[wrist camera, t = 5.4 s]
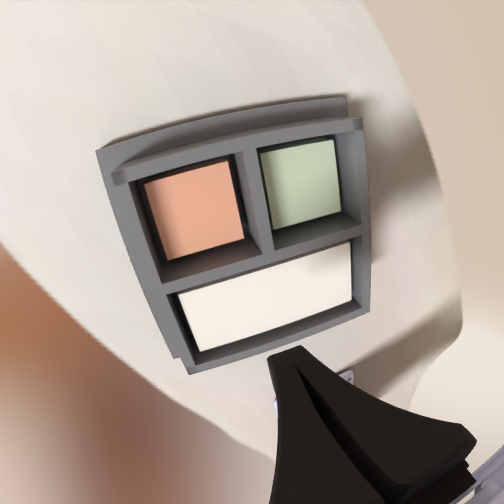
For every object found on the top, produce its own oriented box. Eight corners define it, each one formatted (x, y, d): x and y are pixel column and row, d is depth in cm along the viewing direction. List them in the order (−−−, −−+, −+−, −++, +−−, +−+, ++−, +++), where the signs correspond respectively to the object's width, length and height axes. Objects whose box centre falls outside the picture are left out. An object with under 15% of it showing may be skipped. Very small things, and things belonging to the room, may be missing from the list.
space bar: (339, 288, 20) (351, 300, 19) (196, 335, 18) (200, 351, 17) (336, 233, 18) (349, 242, 17) (176, 280, 17) (178, 295, 15)
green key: (328, 204, 18) (340, 211, 17) (265, 220, 17) (273, 229, 16) (319, 137, 16) (333, 139, 15) (251, 150, 16) (260, 153, 14)
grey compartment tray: (352, 290, 23) (382, 318, 19) (172, 349, 21) (177, 390, 17) (336, 97, 17) (376, 95, 13) (99, 149, 14) (80, 157, 11)
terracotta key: (237, 228, 17) (244, 238, 16) (167, 248, 17) (168, 260, 15) (221, 157, 15) (227, 161, 14) (145, 178, 15) (144, 184, 13)
